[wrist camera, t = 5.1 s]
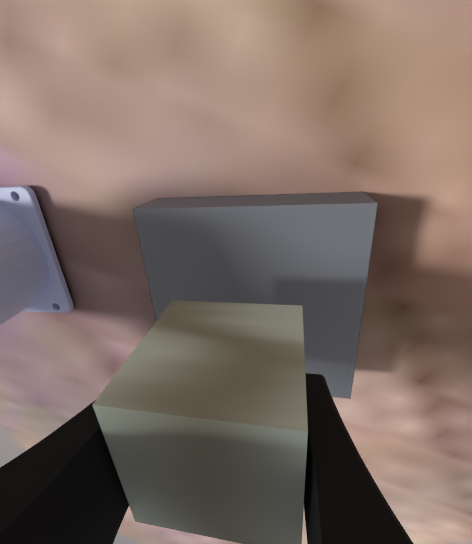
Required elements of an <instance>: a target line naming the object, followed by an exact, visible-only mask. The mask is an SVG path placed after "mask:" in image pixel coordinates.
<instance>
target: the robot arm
mask: <svg viewBox="0 0 472 544" xmlns="http://www.w3.org/2000/svg"><path fill="white" fill-rule="evenodd" d="M17 194H18V195H19V197H18V196H17ZM73 307H74V306H73V302H72V299H71V296H70V293H69V291H68V288H67V285H66V282H65V279H64V276H63V273H62V270H61V267H60V264H59V261H58V258H57V256H56V253H55V250H54V247H53V244H52V241H51V238H50V235H49V232H48V229H47V226H46V223H45V220H44V218H43V215H42V212H41V209H40V206H39V203H38V200H37V197H36V194H35V192H34V191H33V190H32V188H30V187H29V186H5V187H0V324H2V323H4V322H5V321H7V320H8V319H10V318H12V317H13V316H15V315H16V314H18V313H19V312H21V311H33V312H53V313H68V312H70V311H71V310H72V309H73ZM305 376H306V399H307V422H308V439H307V456H306V473H305V491H304V510H305V521H306V531H307V542H308V544H413V542H412V541H411V539H410V538H409V536H408V535H407V533H406V532H405V530H404V528H403V527H402V525H401V524H400V522H399V521H398V519H397V518H396V516H395V514H394V513H393V511H392V510H391V508H390V506H389V505H388V503H387V502H386V500H385V498H384V497H383V495H382V493H381V492H380V490H379V488H378V487H377V485H376V483H375V481H374V480H373V478H372V476H371V474H370V473H369V471H368V469H367V467H366V466H365V464H364V462H363V460H362V458H361V456H360V455H359V453H358V451H357V449H356V447H355V445H354V443H353V441H352V439H351V437H350V435H349V433H348V431H347V429H346V427H345V425H344V423H343V421H342V419H341V417H340V415H339V413H338V410H337V408H336V406H335V403H334V401H333V399H332V396H331V394H330V391H329V388H328V385H327V382H326V379H325V377H324V376H323V375H321V374H309V373H305ZM95 401H96V400H95ZM95 401H94V402H95ZM94 402H93V403H94ZM93 403H91V404H90V405H89V406H87V407H86V408H85V409H84V410H82V411H81V412H80V413H78V414H77V415H76V416H74V417H73V418H72V419H70V420H69V421H68V422H66V423H65V424H63V425H62V426H61V427H59V428H58V429H57V430H55V431H54V432H53V433H51V434H50V435H49V436H47V437H46V438H44V439H43V440H42V441H40V442H39V443H37V444H36V445H34V446H33V447H31V448H30V449H28V450H27V451H25V452H24V453H22V454H21V455H19V456H18V457H16V458H15V459H13V460H12V461H10V462H9V463H7V464H5V465H4V466H2V467H1V468H0V544H113V542H114V539H115V537H116V534H117V532H118V529H119V527H120V525H121V522H122V520H123V518H124V515H125V513H126V511H127V509H128V506H129V503H128V500H127V498H126V495H125V492H124V489H123V487H122V484H121V481H120V479H119V476H118V473H117V470H116V468H115V465H114V462H113V460H112V457H111V454H110V452H109V449H108V446H107V443H106V441H105V438H104V435H103V433H102V430H101V427H100V424H99V422H98V419H97V416H96V414H95V411H94V408H93Z"/></svg>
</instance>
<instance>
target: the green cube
mask: <svg viewBox="0 0 472 544" xmlns="http://www.w3.org/2000/svg"><path fill="white" fill-rule="evenodd" d="M93 408H94V411H95V414H96V416H97V419H98V422H99V424H100V427H101V430H102V433H103V435H104V438H105V441H106V443H107V446H108V449H109V452H110V454H111V457H112V460H113V462H114V465H115V468H116V470H117V473H118V476H119V479H120V481H121V484H122V487H123V489H124V492H125V495H126V498H127V500H128V503H129V506H130V508H131V511H132V514H133V516H134V519H135V521H136V522H140V523H145V524H150V525H155V526H160V527H165V528H170V529H174V530H179V531H184V532H189V533H194V534H199V535H204V536H208V537H213V538H218V539H223V540H228V541H233V542H238V543H242V544H301V542H302V525H303V508H304V491H305V473H306V456H307V439H308V422H307V399H306V376H305V353H304V330H303V308H302V306H301V305H276V304H252V303H227V302H203V301H179V300H172V301H171V303H170V304H169V305H168V307H167V308H166V309H165V311H164V312H163V313H162V314H161V316H160V317H159V318H158V320H157V321H156V322H155V324H154V325H153V326H152V328H151V329H150V330H149V331H148V333H147V334H146V335H145V337H144V338H143V339H142V341H141V342H140V343H139V345H138V346H137V347H136V348H135V350H134V351H133V352H132V354H131V355H130V356H129V358H128V359H127V360H126V362H125V363H124V364H123V365H122V367H121V368H120V369H119V371H118V372H117V373H116V375H115V376H114V377H113V378H112V380H111V381H110V382H109V384H108V385H107V386H106V388H105V389H104V390H103V392H102V393H101V394H100V395H99V397H98V398H97V399H96V401H95V402H94V403H93Z"/></svg>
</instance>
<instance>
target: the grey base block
mask: <svg viewBox="0 0 472 544" xmlns="http://www.w3.org/2000/svg"><path fill="white" fill-rule="evenodd" d="M377 204H378V203H377V202H376V201H374V200H373V199H372V198H371V197H369V196H368V195H367V194H365V193H364V192H337V193H307V194H276V195H246V196H215V197H185V198H157V199H155V200H153V201H151V202H148V203H146V204H144V205H141V206H139V207H137V208H134V209H133V213H134V217H135V222H136V227H137V232H138V236H139V241H140V246H141V251H142V255H143V260H144V265H145V270H146V275H147V279H148V284H149V289H150V294H151V298H152V303H153V308H154V313H155V317H156V321H157V320H158V318H159V317H160V316H161V314H162V313H163V312H164V311H165V309H166V308H167V307H168V305H169V304H170V303H171V301H172V300H179V301H203V302H227V303H252V304H276V305H301V306H302V308H303V330H304V353H305V373H309V374H321V375H323V376H324V377H325V379H326V382H327V385H328V388H329V391H330V394H331V396H332V397H339V398H349V399H351V392H352V384H353V377H354V370H355V363H356V355H357V348H358V341H359V334H360V327H361V319H362V312H363V305H364V298H365V291H366V283H367V276H368V269H369V262H370V254H371V247H372V240H373V233H374V226H375V218H376V211H377Z"/></svg>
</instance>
